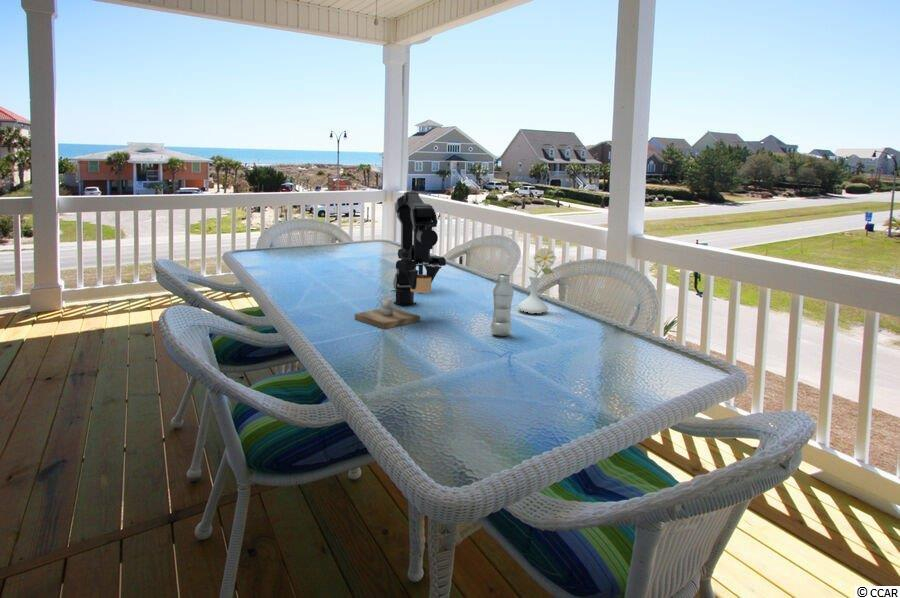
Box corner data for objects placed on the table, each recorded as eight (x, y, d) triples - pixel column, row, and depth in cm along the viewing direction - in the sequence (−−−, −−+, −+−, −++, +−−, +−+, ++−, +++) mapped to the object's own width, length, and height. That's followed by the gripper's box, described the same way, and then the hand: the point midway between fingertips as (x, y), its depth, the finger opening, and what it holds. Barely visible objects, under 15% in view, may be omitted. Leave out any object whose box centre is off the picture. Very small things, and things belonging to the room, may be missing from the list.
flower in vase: (513, 313, 225) (517, 247, 220) (522, 307, 236) (526, 243, 230) (548, 318, 221) (553, 250, 215) (555, 311, 231) (560, 246, 225)
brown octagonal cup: (421, 287, 213) (421, 273, 212) (435, 291, 208) (435, 276, 207) (406, 290, 208) (406, 276, 207) (420, 293, 203) (420, 279, 202)
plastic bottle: (488, 332, 199) (491, 272, 195) (509, 332, 200) (512, 273, 195) (491, 338, 193) (494, 276, 188) (512, 338, 193) (516, 277, 189)
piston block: (390, 312, 221) (390, 292, 219) (420, 321, 210) (420, 300, 208) (354, 319, 210) (354, 298, 208) (384, 329, 199) (384, 307, 197)
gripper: (425, 237, 216) (424, 280, 220) (385, 241, 203) (384, 287, 207) (447, 241, 209) (446, 285, 212) (407, 246, 196) (406, 293, 199)
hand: (420, 287), depth 208 cm, fingers closed on brown octagonal cup, 7 cm apart
